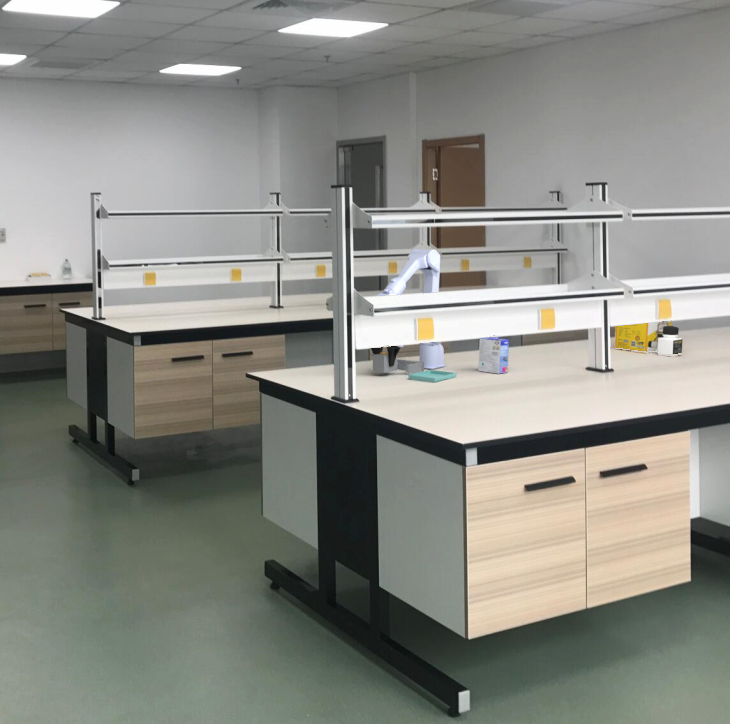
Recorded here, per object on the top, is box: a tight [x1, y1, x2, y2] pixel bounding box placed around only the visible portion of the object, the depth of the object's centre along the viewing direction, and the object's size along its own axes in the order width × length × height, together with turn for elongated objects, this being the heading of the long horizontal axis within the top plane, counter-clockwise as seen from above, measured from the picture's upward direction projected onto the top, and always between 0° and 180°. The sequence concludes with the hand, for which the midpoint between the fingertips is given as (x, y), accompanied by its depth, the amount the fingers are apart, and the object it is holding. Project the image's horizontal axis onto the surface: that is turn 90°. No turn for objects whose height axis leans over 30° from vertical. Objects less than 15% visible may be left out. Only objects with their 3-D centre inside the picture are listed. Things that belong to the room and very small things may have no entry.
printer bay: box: [397, 358, 425, 376], centre depth 352 cm, size 10×14×4 cm
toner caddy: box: [372, 351, 398, 374], centre depth 344 cm, size 8×5×7 cm, turn 143°
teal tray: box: [408, 369, 457, 383], centre depth 338 cm, size 14×11×2 cm
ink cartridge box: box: [477, 336, 510, 375], centre depth 351 cm, size 10×6×14 cm, turn 46°
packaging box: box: [613, 320, 672, 352], centre depth 408 cm, size 16×16×25 cm
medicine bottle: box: [656, 325, 683, 354], centre depth 393 cm, size 7×7×12 cm
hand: (385, 365), depth 344 cm, fingers closed on toner caddy, 5 cm apart
